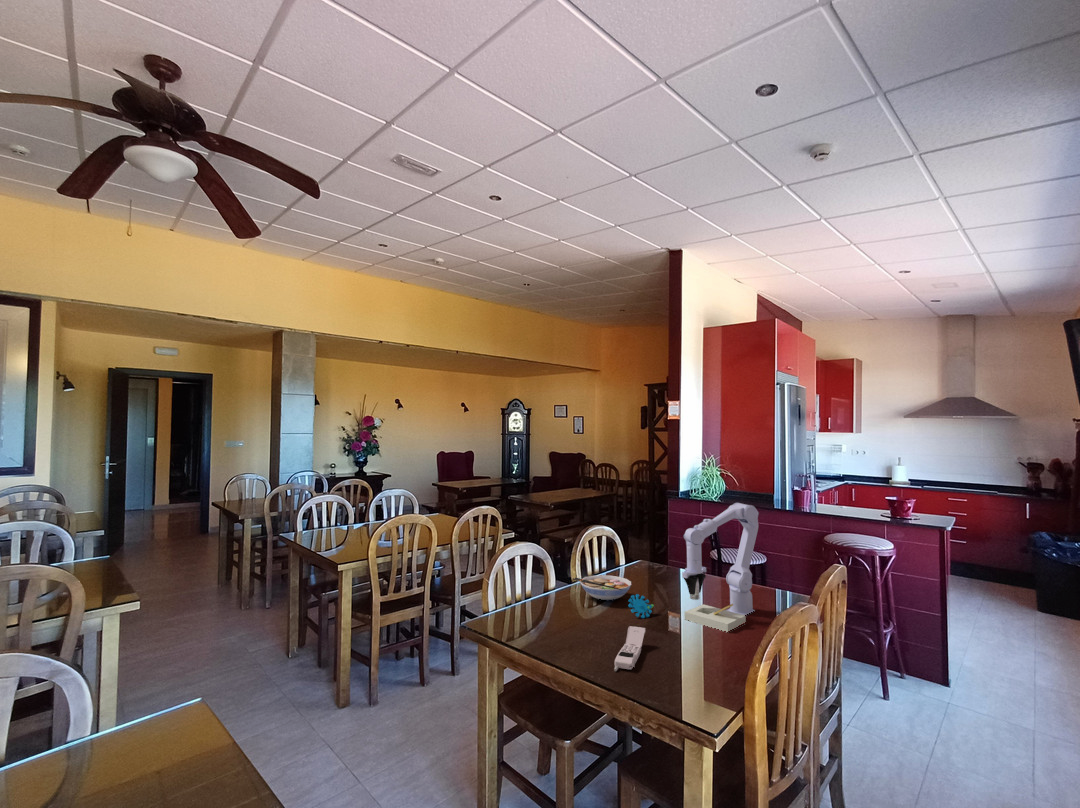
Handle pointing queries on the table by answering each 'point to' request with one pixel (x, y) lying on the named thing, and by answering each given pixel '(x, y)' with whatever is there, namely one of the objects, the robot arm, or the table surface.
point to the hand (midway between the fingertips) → (694, 593)
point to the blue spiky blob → (640, 606)
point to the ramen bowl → (605, 586)
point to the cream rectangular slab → (715, 617)
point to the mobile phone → (630, 649)
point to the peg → (696, 592)
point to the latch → (723, 609)
